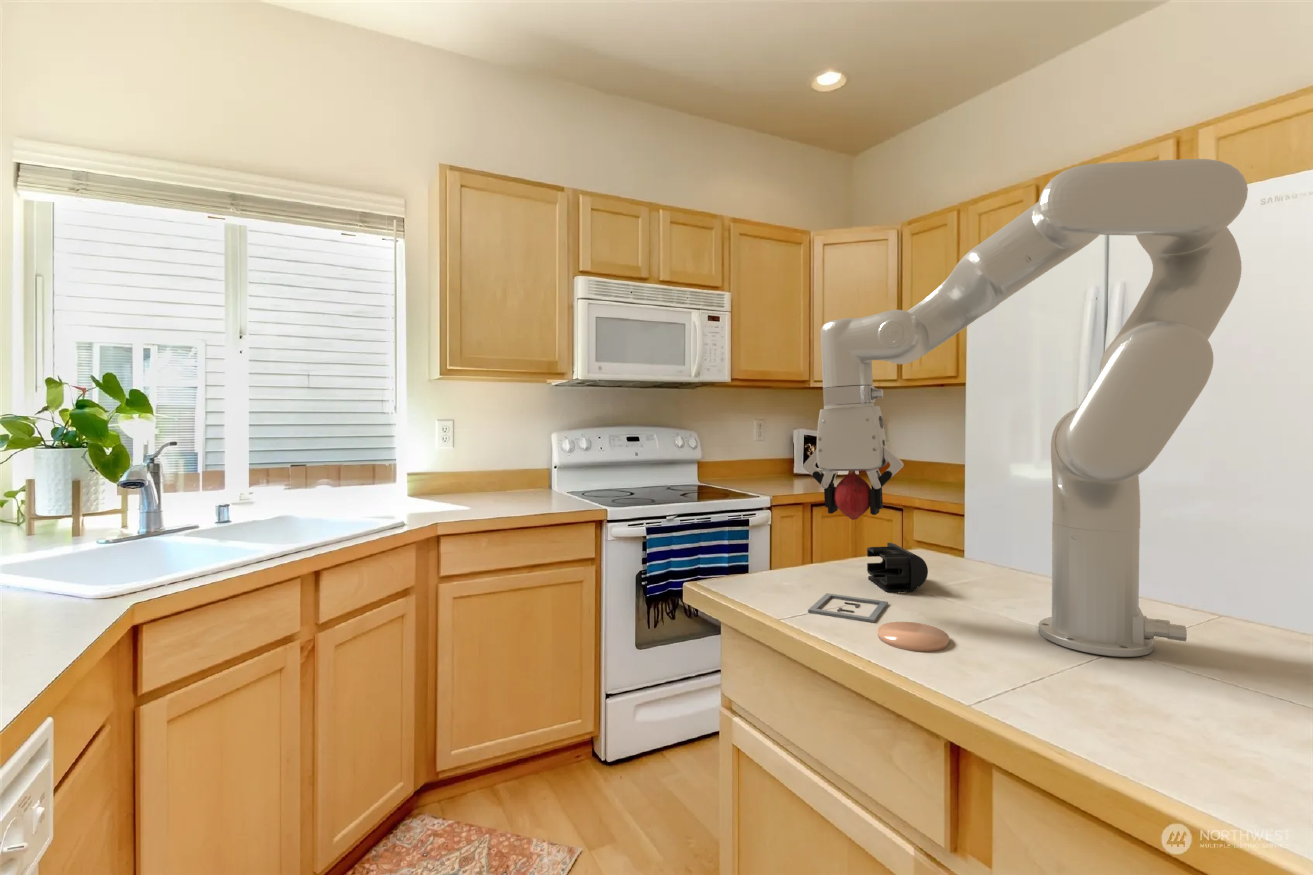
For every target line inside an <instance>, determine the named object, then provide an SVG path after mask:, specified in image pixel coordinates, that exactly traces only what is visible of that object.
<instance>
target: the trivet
mask: <svg viewBox="0 0 1313 875" xmlns="http://www.w3.org/2000/svg"><path fill="white" fill-rule="evenodd" d="M877 637H878V638H879V640H880V641H881V642H882V643H884V644H887V645H889V646H892V647H895V648H898V649H901V650H905V651H906V650H907V651H911V652H912V651H914V652H935V651H936V652H937V651H941V650H943V649H946V648H947V647H948V646H949V645H950V638H949V637H950V636H949V634H948V633H947V632H946V631H945V630H942V629H941V628H938V627H935V626H933V625H929V624H927V623H926V624H925V623H921V622H913V621H892V622H886V623H883V624H881V625H879V626H878V628H877Z"/></svg>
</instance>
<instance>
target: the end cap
mask: <svg viewBox="0 0 1313 875" xmlns="http://www.w3.org/2000/svg"><path fill="white" fill-rule="evenodd" d="M886 544H887V545H886V546H870V547H867V548H866V557H868V558H872V557H877V558H881V559H882V561H880V562H867V563H866V566H867V567H866V569H867V573H868V574H869V576H867V577H868V578H867V579H868V581H870V582H871V583H872V582H873V585H877V588H880V589H881V590H882V591H883V592H885V593H886V592H887V594H896V592H897V594H901V592H906V593H912V592H914V591H916V590H917V589H918V588H920V587H921V586H922V585H924V584H925V582H926V581H927V578H928V574H929V573H928V572H929V568H928V565H927V563H926V561H925V560H924V559H923V558H922V557H921V556H920V555H918V554H916V553H913V552H911V551H909V550H908V549H905V548H904V547H901V546H899V545H898V544H895V543H893V542H887V543H886ZM898 592H900V593H898Z"/></svg>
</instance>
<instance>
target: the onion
mask: <svg viewBox="0 0 1313 875" xmlns="http://www.w3.org/2000/svg"><path fill="white" fill-rule="evenodd" d="M835 487H836V488H835V492H834V501H835V504H836V506H837V507H838V510H839V511H840V512H841V513H842V514H843V515H845V516H846V517H847V518H849V519H850V520H852V521H856V520H858V519H859V518H860V517H861V516H862V515H863V514H864V513H865V514H866V512H867V511H868V510H870V495H869V490H870V489H872V487H870V484H869V483H868V482H867V481H866V480H865V479H864V478H862V477H860V476H859V475H857V473H856V471H847V475H845V477H843V478H842V479H841V480H840V481H839V482H838V483H837V485H836V486H835Z"/></svg>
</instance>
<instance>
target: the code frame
mask: <svg viewBox="0 0 1313 875" xmlns="http://www.w3.org/2000/svg"><path fill="white" fill-rule="evenodd" d="M831 599H836V600H844V604H845V605H853V606H855V608H858V609H859V607H861V606H860V605H861V604H860V603H865V604H870V605H871V604H872V605H876V607H875V609H874V610H873V611H872V612H871V613H870V615H869V616H865V615H858V614H852V613H855V610H853V609H852V610H851V609H844V608H843V607H839V608H837V609H836V611H832V610H825V609H821V608H822V606H824V604H826V603H827V602H828V601H829V600H831ZM847 601H852V602H847ZM854 602H858V603H854ZM888 605H889V601H887V600H880V599H879V600H878V599H873V598H872V599H870V598H864V597H858V596H857V597H856V596H850V595H843V594H842V595H841V594H835V593H829V592H826V593H825V594H824V595H822V597H820V598H819V600H817V601H816V602H815V603H814V604H813V605H812V606H811V607H809V608H808V609H807V613H811V614H817V615H823V616H830V617H836V618H843V619H847V620H854V621H860V622H861V621H862V622H867V623H876V621H877V620H878V618H879V617H880V616H881V614H882V613H883V612H884V610H885V609H886V607H887V606H888ZM846 612H847V613H846ZM848 612H849V613H848Z"/></svg>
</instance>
